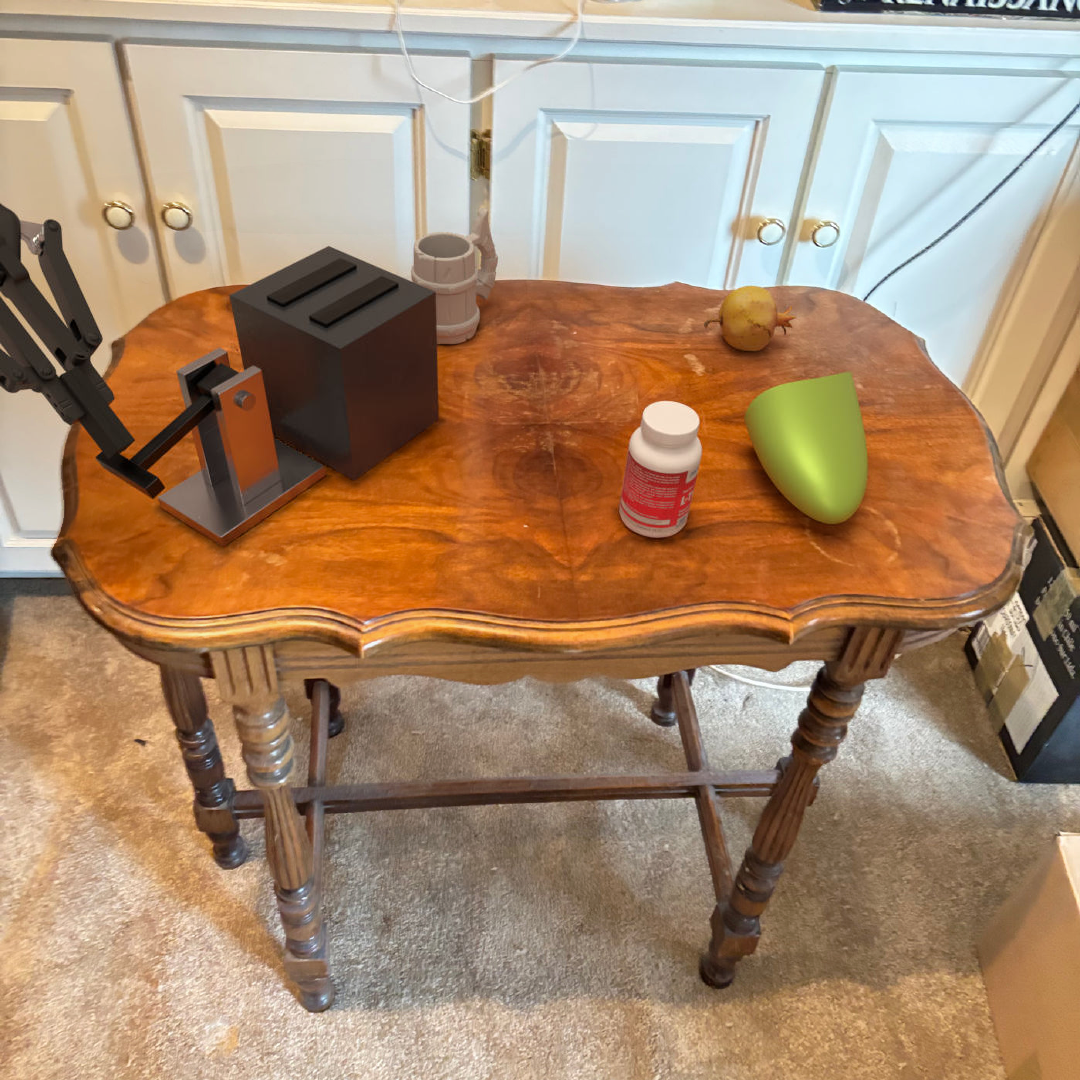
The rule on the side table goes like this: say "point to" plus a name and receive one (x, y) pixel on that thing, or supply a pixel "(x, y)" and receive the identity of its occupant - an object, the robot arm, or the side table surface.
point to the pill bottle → (661, 470)
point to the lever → (166, 438)
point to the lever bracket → (235, 457)
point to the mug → (456, 277)
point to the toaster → (342, 357)
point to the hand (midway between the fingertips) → (121, 449)
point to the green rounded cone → (813, 444)
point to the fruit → (750, 318)
